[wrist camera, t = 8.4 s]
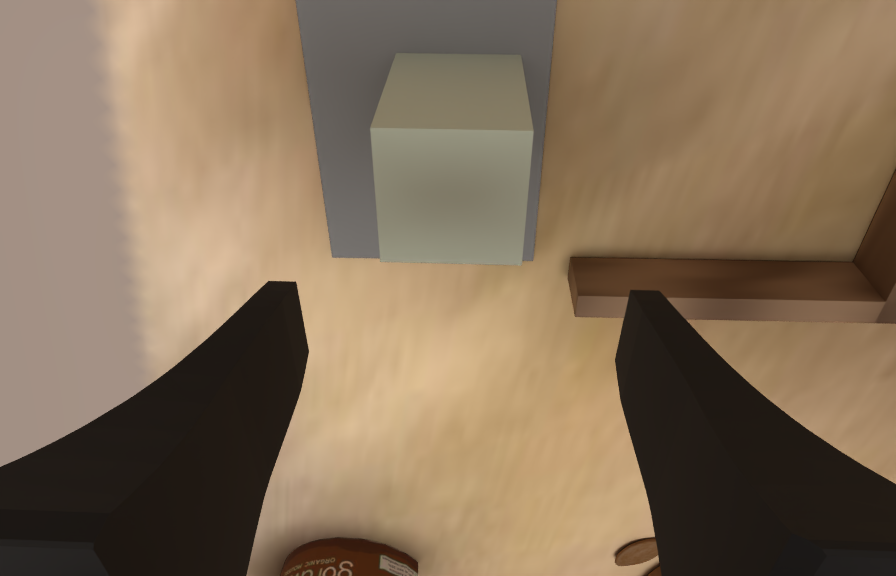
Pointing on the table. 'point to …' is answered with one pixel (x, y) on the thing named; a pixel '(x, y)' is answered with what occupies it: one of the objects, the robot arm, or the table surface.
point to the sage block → (452, 159)
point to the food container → (348, 559)
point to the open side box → (753, 283)
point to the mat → (365, 74)
